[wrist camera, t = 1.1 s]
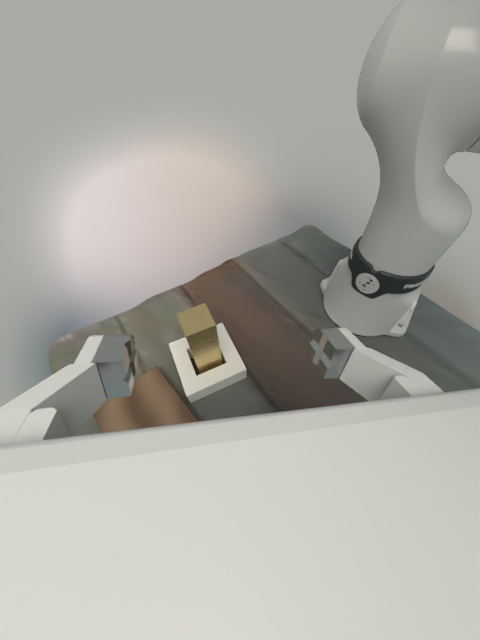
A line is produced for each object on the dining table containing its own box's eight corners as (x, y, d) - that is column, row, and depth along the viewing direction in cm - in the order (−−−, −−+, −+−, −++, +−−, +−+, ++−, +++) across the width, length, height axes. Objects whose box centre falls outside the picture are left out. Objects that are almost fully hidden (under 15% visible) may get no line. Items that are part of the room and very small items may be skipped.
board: (159, 370, 41) (156, 365, 39) (208, 435, 35) (207, 432, 33) (98, 415, 36) (91, 411, 35) (142, 498, 30) (136, 498, 29)
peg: (214, 351, 43) (205, 303, 31) (223, 369, 41) (216, 325, 29) (194, 360, 42) (176, 313, 30) (201, 379, 40) (185, 336, 28)
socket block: (223, 333, 45) (222, 322, 42) (246, 377, 40) (246, 369, 37) (173, 353, 43) (168, 343, 40) (190, 403, 37) (186, 396, 34)
